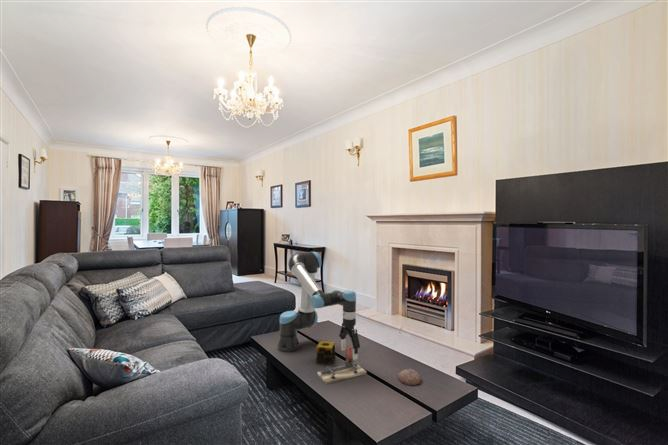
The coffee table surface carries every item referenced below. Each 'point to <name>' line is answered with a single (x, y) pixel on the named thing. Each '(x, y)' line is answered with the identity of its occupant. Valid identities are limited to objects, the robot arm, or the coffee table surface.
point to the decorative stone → (409, 377)
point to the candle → (325, 352)
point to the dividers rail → (336, 369)
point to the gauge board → (342, 374)
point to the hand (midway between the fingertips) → (349, 354)
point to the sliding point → (350, 357)
